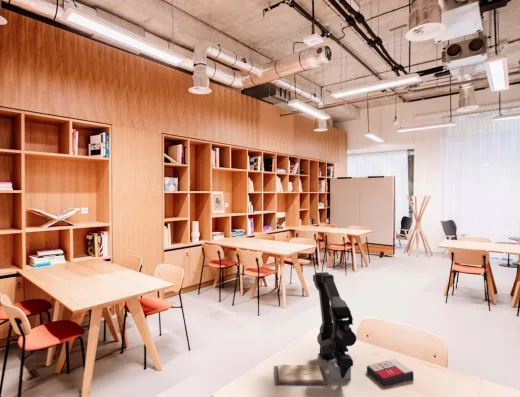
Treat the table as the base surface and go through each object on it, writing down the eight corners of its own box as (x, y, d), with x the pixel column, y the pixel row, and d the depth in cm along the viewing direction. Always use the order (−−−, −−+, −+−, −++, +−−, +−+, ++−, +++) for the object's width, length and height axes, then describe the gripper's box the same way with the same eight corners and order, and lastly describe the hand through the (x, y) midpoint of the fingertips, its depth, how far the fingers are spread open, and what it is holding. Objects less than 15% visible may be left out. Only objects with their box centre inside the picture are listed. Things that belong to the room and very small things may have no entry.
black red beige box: (366, 364, 136) (394, 357, 140) (366, 374, 136) (395, 366, 140) (383, 378, 125) (413, 370, 130) (383, 389, 125) (414, 380, 130)
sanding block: (347, 372, 135) (347, 360, 135) (350, 379, 130) (350, 366, 130) (328, 373, 135) (328, 360, 135) (331, 379, 130) (331, 366, 130)
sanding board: (321, 367, 139) (321, 363, 139) (327, 385, 126) (327, 381, 126) (274, 367, 140) (274, 363, 140) (275, 385, 127) (275, 381, 127)
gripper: (317, 325, 142) (317, 359, 142) (324, 345, 123) (324, 384, 124) (341, 325, 142) (341, 359, 142) (353, 345, 123) (353, 384, 123)
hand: (339, 371), depth 133 cm, fingers open, 9 cm apart
